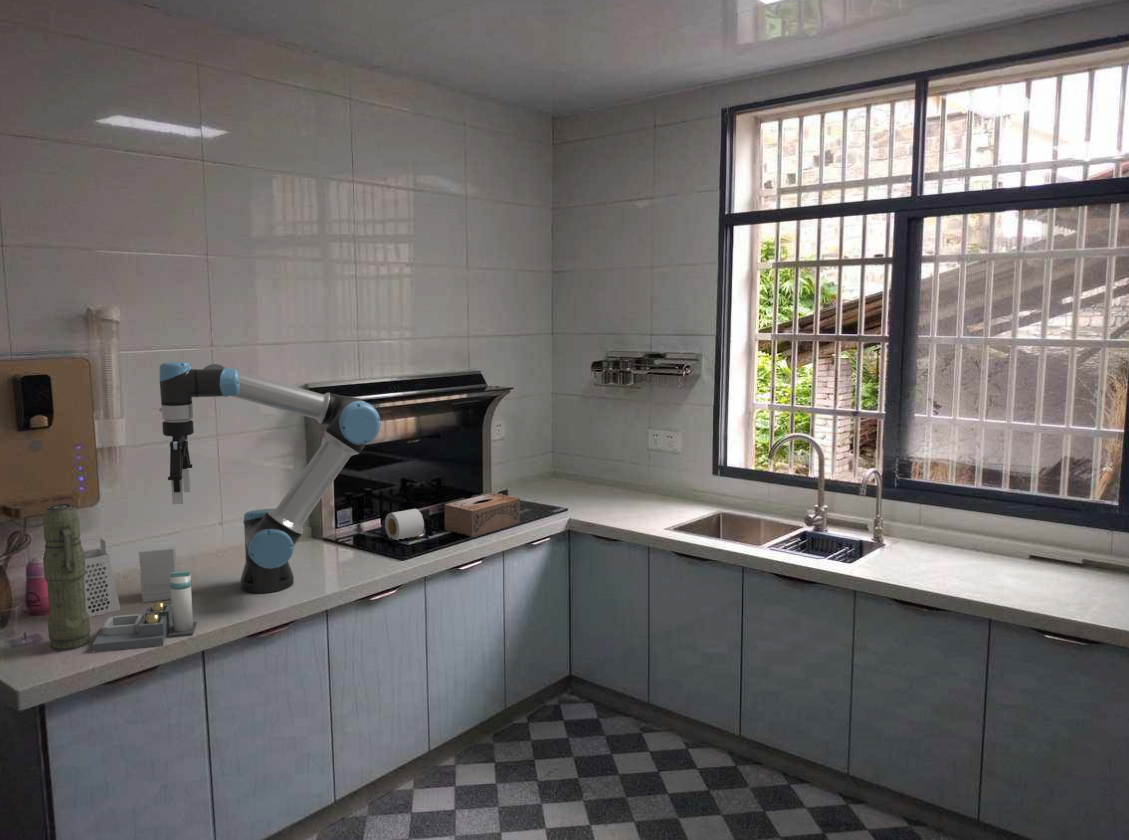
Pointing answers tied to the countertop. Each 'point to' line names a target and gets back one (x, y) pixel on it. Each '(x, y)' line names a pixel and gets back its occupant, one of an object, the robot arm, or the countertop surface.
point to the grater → (99, 580)
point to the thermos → (65, 579)
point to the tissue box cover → (482, 514)
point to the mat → (184, 633)
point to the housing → (134, 631)
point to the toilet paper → (404, 524)
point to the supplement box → (157, 570)
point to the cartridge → (181, 601)
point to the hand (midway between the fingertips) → (182, 497)
